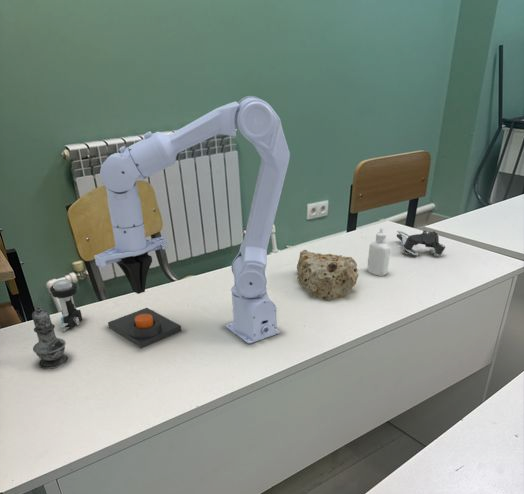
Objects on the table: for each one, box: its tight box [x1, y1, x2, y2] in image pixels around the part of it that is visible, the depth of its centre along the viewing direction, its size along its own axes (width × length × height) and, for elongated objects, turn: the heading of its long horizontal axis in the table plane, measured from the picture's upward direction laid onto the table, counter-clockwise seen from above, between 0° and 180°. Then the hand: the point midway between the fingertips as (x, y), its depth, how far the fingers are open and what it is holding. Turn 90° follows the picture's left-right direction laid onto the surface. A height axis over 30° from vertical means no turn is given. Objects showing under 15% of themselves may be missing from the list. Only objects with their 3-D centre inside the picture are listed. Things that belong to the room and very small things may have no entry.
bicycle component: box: [396, 230, 446, 257], centre depth 142 cm, size 12×7×15 cm
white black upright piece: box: [49, 278, 83, 332], centre depth 103 cm, size 7×5×10 cm
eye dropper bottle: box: [366, 228, 391, 277], centre depth 126 cm, size 4×6×12 cm
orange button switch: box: [107, 307, 182, 349], centre depth 103 cm, size 13×10×3 cm
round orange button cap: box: [135, 314, 153, 328], centre depth 99 cm, size 4×4×2 cm
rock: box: [296, 249, 359, 301], centre depth 121 cm, size 21×14×10 cm
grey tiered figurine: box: [31, 305, 69, 370], centre depth 90 cm, size 6×6×12 cm
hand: (138, 291), depth 95 cm, fingers closed
